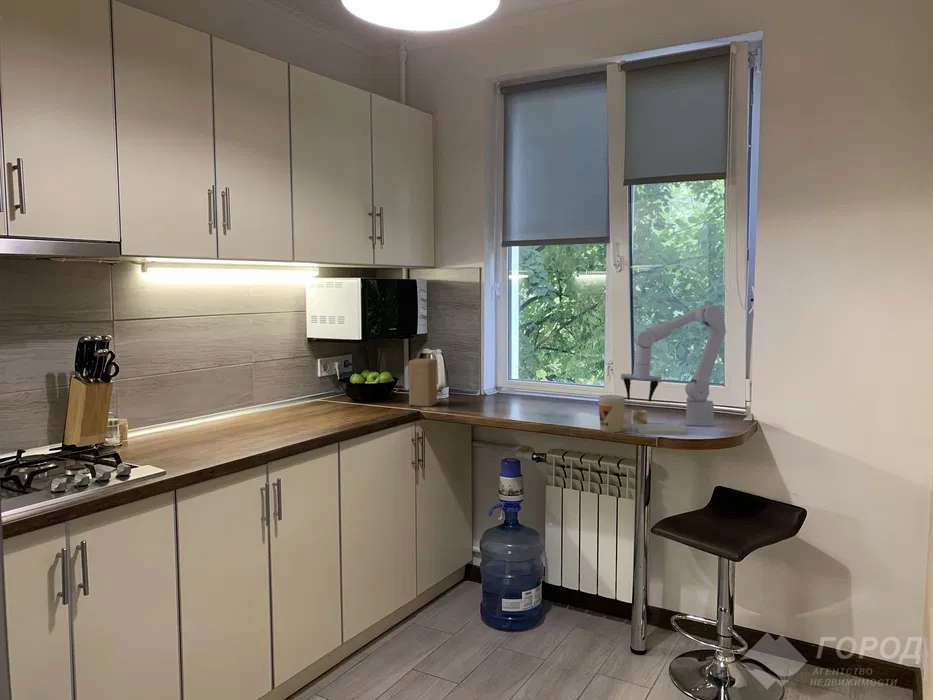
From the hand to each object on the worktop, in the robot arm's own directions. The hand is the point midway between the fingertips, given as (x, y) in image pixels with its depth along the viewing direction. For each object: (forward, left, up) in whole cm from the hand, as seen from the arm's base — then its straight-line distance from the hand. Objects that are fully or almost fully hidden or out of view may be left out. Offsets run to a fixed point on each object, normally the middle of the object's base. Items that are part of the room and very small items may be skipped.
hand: (639, 400), depth 266 cm
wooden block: (+88, -37, -9) cm, 96 cm away
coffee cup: (+11, +12, -9) cm, 19 cm away
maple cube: (0, 0, -9) cm, 9 cm away
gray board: (-6, +12, -9) cm, 16 cm away
